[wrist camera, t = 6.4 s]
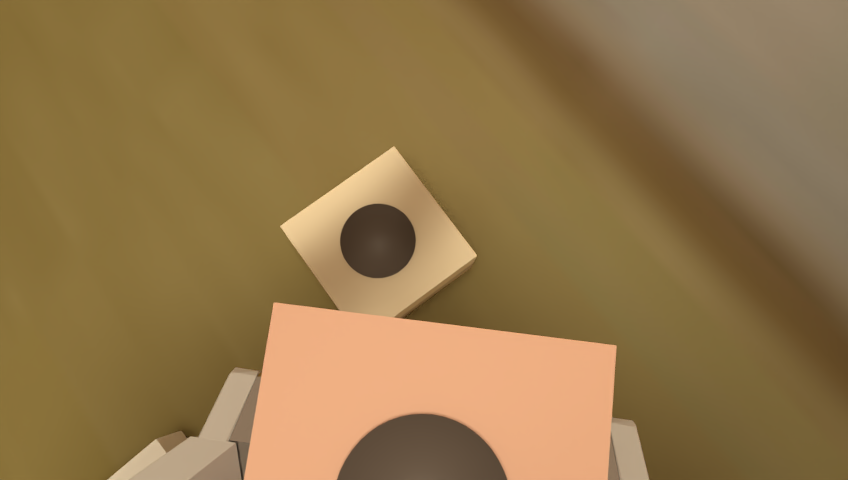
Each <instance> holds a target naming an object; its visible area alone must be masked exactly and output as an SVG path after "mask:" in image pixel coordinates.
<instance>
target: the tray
mask: <svg viewBox="0 0 848 480" xmlns="http://www.w3.org/2000/svg"><path fill="white" fill-rule="evenodd" d="M186 439H187V437H186V436H185V435H184V434H183V432H182V431H178V432H175V433H172V434H169V435H166V436H163V437H160V438H157V439H155V440H154V441H153V442H152V443H150V444H149V445H148V446H147V447H146V448H145V449H143V450H142V451H141V452H140V453H139V454H137V455H136V456H135V457H134V458H133V459H131V460H130V461H129V462H128V463H127V464H126V465H124V466H123V467H122V468H121V469H120V470H118V471H117V472H116V473H115V474H114V475H112V476H111V477H110V478H109V479H108V480H129V479H130V478H132V477H133V476H135V475H136V474H138V473H139V472H140V471H142V470H143V469H145V468H146V467H148V466H149V465H150V464H152V463H153V462H155V461H156V460H158V459H159V458H160V457H162V456H163V455H165V454H166V453H167V452H169V451H170V450H172V449H173V448H175V447H176V446H177V445H179V444H180V443H182V442H183V441H185V440H186Z"/></svg>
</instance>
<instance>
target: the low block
mask: <svg viewBox="0 0 848 480" xmlns="http://www.w3.org/2000/svg"><path fill="white" fill-rule="evenodd" d="M280 227H281V228H282V229H283V231H284V232H285V234H286V235H287V237H288V238H289V239H290V241H291V242H292V244H293V245H294V247H295V248H296V249H297V251H298V252H299V254H300V255H301V256H302V258H303V259H304V261H305V262H306V264H307V265H308V266H309V268H310V269H311V271H312V272H313V273H314V275H315V276H316V278H317V279H318V281H319V282H320V283H321V285H322V286H323V288H324V289H325V291H326V292H327V293H328V295H329V296H330V298H331V299H332V300H333V302H334V303H335V305H336V306H337V308H338V309H339V310H340V311H346V312H354V313H362V314H370V315H378V316H386V317H394V318H404V317H405V316H406V315H408V314H409V313H410V312H412V311H413V310H414V309H416V308H417V307H418V306H420V305H421V304H423V303H424V302H425V301H427V300H428V299H429V298H431V297H432V296H433V295H435V294H436V293H437V292H439V291H440V290H442V289H443V288H444V287H446V286H447V285H448V284H450V283H451V282H452V281H454V280H455V279H456V278H458V277H459V276H461V275H462V274H463V273H465V272H466V271H467V270H469V269H470V268H471V267H472V265H473V263H474V261H475V259H476V257H477V255H476V253H475V252H474V251H473V249H472V248H471V247H470V245H469V244H468V243H467V242H466V240H465V239H464V238H463V236H462V235H461V234H460V232H459V231H458V230H457V228H456V227H455V226H454V224H453V223H452V222H451V220H450V219H449V218H448V217H447V215H446V214H445V213H444V211H443V210H442V209H441V207H440V206H439V205H438V203H437V202H436V201H435V199H434V198H433V197H432V195H431V194H430V193H429V192H428V190H427V189H426V188H425V186H424V185H423V184H422V182H421V181H420V180H419V178H418V177H417V176H416V174H415V173H414V172H413V170H412V169H411V168H410V167H409V165H408V164H407V163H406V161H405V160H404V159H403V157H402V156H401V155H400V153H399V152H398V151H397V149H396V148H395V147H392V148H391V149H390V150H388V151H387V152H385V153H384V154H382V155H381V156H380V157H378V158H377V159H375V160H374V161H372V162H371V163H370V164H368V165H367V166H365V167H364V168H362V169H361V170H360V171H358V172H357V173H355V174H354V175H352V176H351V177H350V178H348V179H347V180H345V181H344V182H342V183H341V184H340V185H338V186H337V187H335V188H334V189H332V190H331V191H330V192H328V193H327V194H325V195H324V196H322V197H321V198H320V199H318V200H317V201H315V202H314V203H312V204H311V205H310V206H308V207H307V208H305V209H304V210H302V211H301V212H300V213H298V214H297V215H295V216H294V217H292V218H291V219H290V220H288V221H287V222H285V223H284V224H282V225H281V226H280Z"/></svg>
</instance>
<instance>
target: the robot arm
mask: <svg viewBox="0 0 848 480" xmlns="http://www.w3.org/2000/svg"><path fill="white" fill-rule="evenodd" d="M261 375H262V371H257V370H251V369H244V368H237V367H235V368H234V369H233V371H232V372H231V373H230V374H229V376H228V378H227V380H226V382H225V384H224V386H223V388H222V390H221V392H220V394H219V396H218V398H217V400H216V402H215V404H214V406H213V408H212V410H211V412H210V414H209V416H208V418H207V420H206V422H205V424H204V426H203V428H202V430H201V432H200V435H199V437H192V436H190V437H189V438H187V439H186V440H185V441H183V442H182V443H180V444H179V445H177V446H176V447H175V448H173V449H172V450H170V451H169V452H167V453H166V454H165V455H163V456H162V457H160V458H159V459H158V460H156V461H155V462H153V463H152V464H150V465H149V466H148V467H146V468H145V469H143V470H142V471H140V472H139V473H138V474H136V475H135V476H133V477H132V478H130V479H129V480H244V476H245V470H246V464H247V458H248V452H249V446H250V440H251V434H252V428H253V423H254V417H255V411H256V405H257V399H258V393H259V387H260V381H261ZM608 480H649V476H648V472H647V468H646V464H645V460H644V455H643V451H642V447H641V443H640V439H639V435H638V431H637V427H636V425H635V423H634V422H633V420H626V419H618V418H612V421H611V437H610V452H609V467H608Z"/></svg>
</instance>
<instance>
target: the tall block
mask: <svg viewBox="0 0 848 480" xmlns="http://www.w3.org/2000/svg"><path fill="white" fill-rule="evenodd" d="M615 361H616V345H608V344H601V343H593V342H585V341H577V340H569V339H561V338H553V337H545V336H537V335H529V334H521V333H513V332H505V331H497V330H489V329H481V328H473V327H465V326H457V325H449V324H441V323H434V322H426V321H418V320H410V319H402V318H394V317H386V316H378V315H370V314H362V313H354V312H346V311H338V310H330V309H322V308H314V307H306V306H298V305H290V304H282V303H274V305H273V311H272V317H271V323H270V328H269V334H268V340H267V346H266V352H265V358H264V364H263V370H262V375H261V381H260V387H259V393H258V399H257V405H256V411H255V417H254V423H253V428H252V434H251V440H250V446H249V452H248V458H247V464H246V470H245V476H244V480H608V467H609V452H610V437H611V421H612V406H613V391H614V376H615Z"/></svg>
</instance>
